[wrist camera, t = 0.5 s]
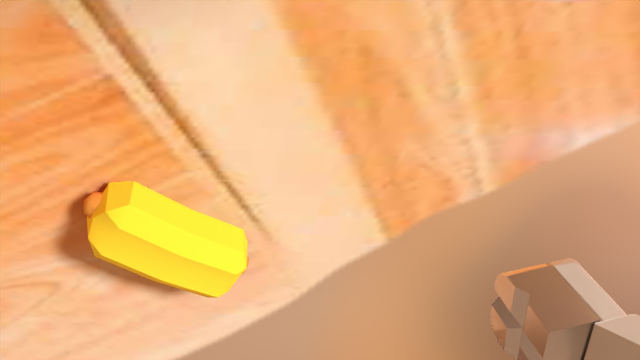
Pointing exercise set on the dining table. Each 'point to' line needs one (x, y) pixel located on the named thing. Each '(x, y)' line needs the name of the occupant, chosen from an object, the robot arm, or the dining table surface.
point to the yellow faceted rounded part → (164, 239)
